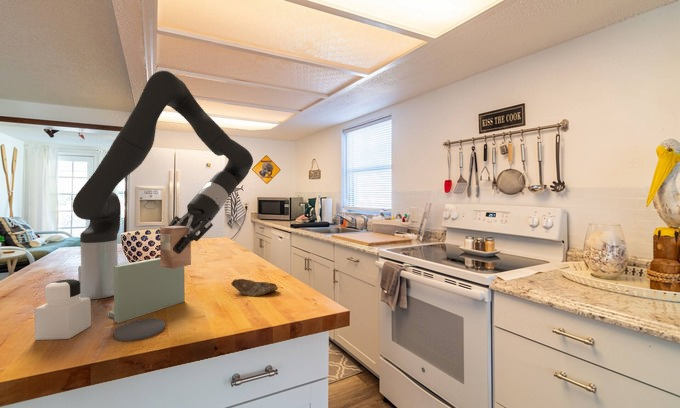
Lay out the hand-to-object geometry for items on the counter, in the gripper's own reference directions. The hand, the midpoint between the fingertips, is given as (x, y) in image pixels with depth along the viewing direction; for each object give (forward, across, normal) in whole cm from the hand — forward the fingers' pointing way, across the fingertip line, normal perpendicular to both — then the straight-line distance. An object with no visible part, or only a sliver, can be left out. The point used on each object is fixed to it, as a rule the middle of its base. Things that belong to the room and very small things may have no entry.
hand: (169, 250), depth 80 cm
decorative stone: (-7, +3, +33) cm, 34 cm away
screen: (+11, -13, +14) cm, 22 cm away
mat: (+18, 0, +7) cm, 19 cm away
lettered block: (+2, 0, +4) cm, 5 cm away
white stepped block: (+24, -14, +1) cm, 28 cm away
